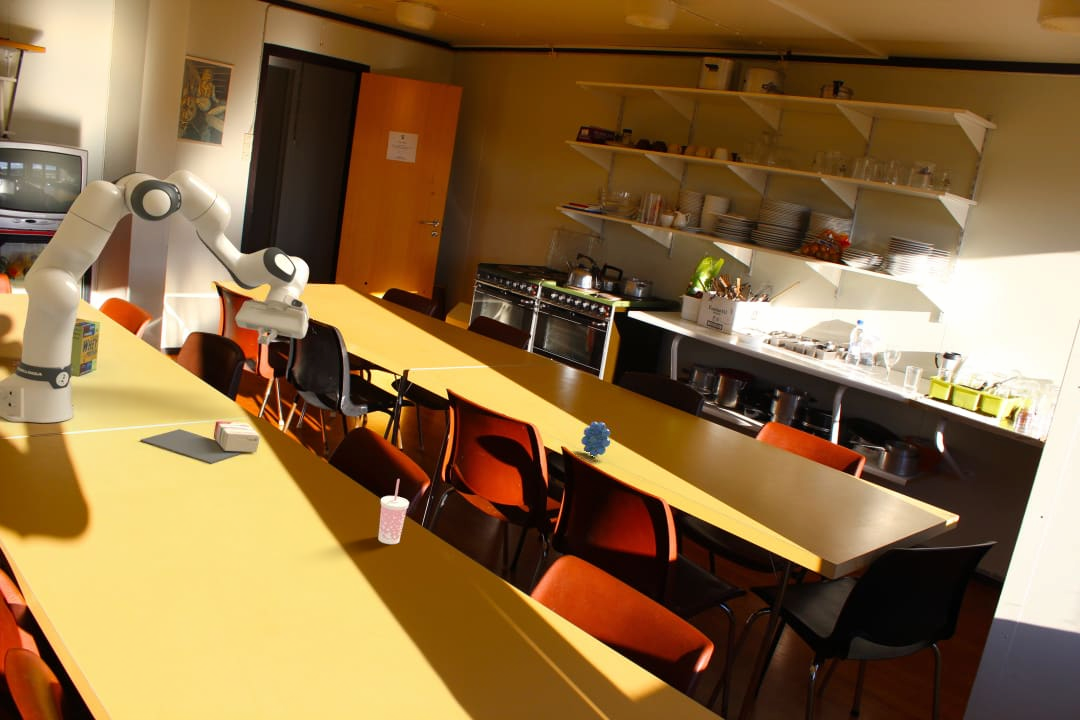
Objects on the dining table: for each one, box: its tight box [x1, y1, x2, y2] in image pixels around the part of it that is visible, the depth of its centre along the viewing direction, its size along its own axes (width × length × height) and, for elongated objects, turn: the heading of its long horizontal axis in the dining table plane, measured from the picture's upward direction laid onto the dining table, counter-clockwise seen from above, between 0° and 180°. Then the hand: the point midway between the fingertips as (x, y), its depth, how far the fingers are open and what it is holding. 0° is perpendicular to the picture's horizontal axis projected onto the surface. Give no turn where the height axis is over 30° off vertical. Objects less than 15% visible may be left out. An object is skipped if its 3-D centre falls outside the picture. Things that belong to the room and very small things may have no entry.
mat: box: [139, 428, 247, 465], centre depth 230 cm, size 22×14×1 cm, turn 70°
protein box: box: [70, 317, 101, 377], centre depth 274 cm, size 10×15×16 cm
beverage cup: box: [378, 478, 410, 545], centre depth 194 cm, size 6×6×14 cm
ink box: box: [213, 420, 260, 453], centre depth 234 cm, size 8×5×12 cm
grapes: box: [580, 421, 611, 457], centre depth 285 cm, size 12×7×12 cm, turn 42°
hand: (262, 342), depth 254 cm, fingers closed
